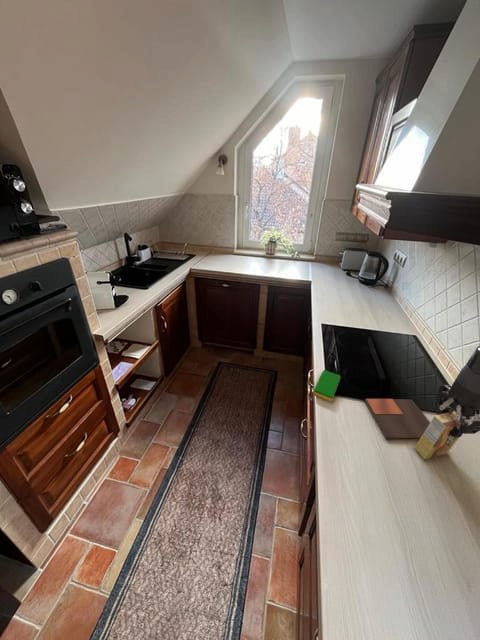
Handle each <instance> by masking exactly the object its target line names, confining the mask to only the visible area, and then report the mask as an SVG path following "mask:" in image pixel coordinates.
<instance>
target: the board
mask: <svg viewBox="0 0 480 640" xmlns="http://www.w3.org/2000/svg"><path fill="white" fill-rule="evenodd" d="M364 403H365V405H366V407H367V408H368V410H369V412H370V414H371V415H372V418H373V419H374V421H375V423H376V425H377V426H378V428H379V430H380V431H381V433H382V436H383V437H384V439H385V440H420V438H421V437H422V435H423V434H424V432H425V430H426V429H427V427H428V426H429V424H430V422H431V421H430V420H429V419H428V418H427V416H426V415H425V414H424V413H423V412H422V410H421V409H420V408H419V407H418V405H417V404H416V403H415V402H414V400H413V399H411V398H409V399H408V398H406V399H405V398H403V399H402V398H365V399H364Z"/></svg>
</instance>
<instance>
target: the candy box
mask: <svg viewBox="0 0 480 640" xmlns="http://www.w3.org/2000/svg"><path fill="white" fill-rule="evenodd" d="M429 422H430V424H429V426H428V427H427V429H426V430H425V432H424V434H423V435H422V437H421V438H420V439H418V441H417V443H416V445H415V446H414V450H415V451H417V453H418V454H419V455H420V456H421V458H423V459H424V460H428V459H432V458H436V457H440V456H444V455H447V454H448V453H450V451H451V449H452V448H453V447H454V445H456V442H457V441H458V440H459V439H460V437H451V436H450V433H451V431H452V430H453V428H454V427H455V426H456V423H457V420H456V412H455V411H454V410H453V411H449V413H444V414H440V415H437V414H436V415H434V416H433V418H432V419H431V421H429ZM463 423H464V422H463ZM463 423H462V425H463ZM470 424H471V422H470Z"/></svg>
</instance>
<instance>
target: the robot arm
mask: <svg viewBox="0 0 480 640" xmlns="http://www.w3.org/2000/svg"><path fill="white" fill-rule="evenodd" d="M454 379H455V380H454V381H453V382H452V384H451V385H450V384H440V385H439V388H438V392H437V396H436V399H435V403H436V404H437V405H439V407H438V408H439V410H438V412H437V413H436V415H440V414H444V413H449V412H450V411H451V410H453V411H455V412H456V420H457V423H456V426H455V427H454V428H453V430H452V431H451V433H450V436H451V437H459V438H461V437H462V436H463V435H464V434H465V435H476V434H477V433H479V432H480V345H478V346H477V347H475V348H474V351H473V352H472V353H471V355H470V357H469V359H468V361H467V362H466V363H465V365H464V366H463V367H462V368H461V369H460V370H459V373H458V374H457V376H456V378H454ZM463 422H464V423H463ZM470 422H471V423H470ZM462 423H463V425H462Z"/></svg>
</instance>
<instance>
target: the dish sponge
mask: <svg viewBox="0 0 480 640" xmlns="http://www.w3.org/2000/svg"><path fill="white" fill-rule="evenodd" d="M341 377H342V376H341V375H340V374H336V373H333V372H331V371H329V370H326V369H324V370H322V372H321V374H320V377H319V379H318V380H317V382H316V385H315V386H314V389H313V391H312V394H313V396H316V397H318V398H321V399H323V400H325V401H328V402H333V399H334V397H335V394H336V392H337V388H338V387H339V384H340V382H341Z"/></svg>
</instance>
